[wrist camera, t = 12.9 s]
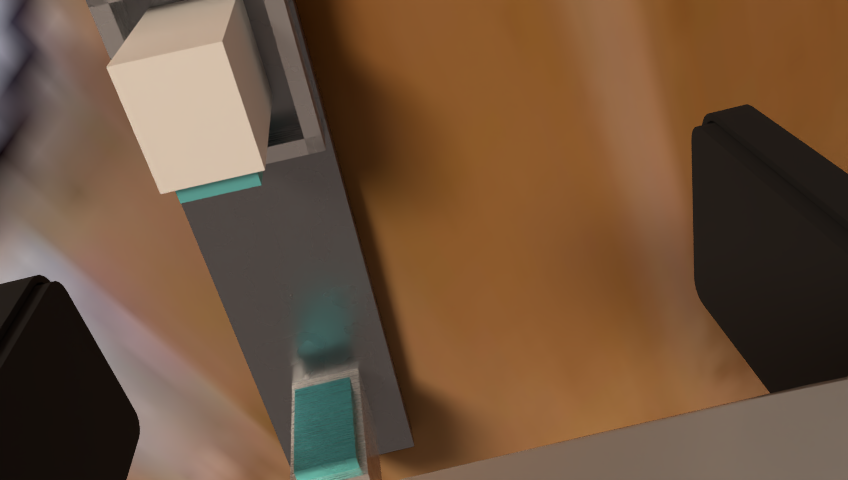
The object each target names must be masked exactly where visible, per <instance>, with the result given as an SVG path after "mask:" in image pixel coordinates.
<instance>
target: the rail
mask: <svg viewBox="0 0 848 480" xmlns="http://www.w3.org/2000/svg"><path fill="white" fill-rule="evenodd" d="M179 1H184V0H86V2H87V5H88V7H89V9H90V12H91V14H92V16H93V19H94V21H95V23H96V26H97V28H98V31H99V33H100V35H101V38H102V40H103V42H104V45H105V47H106V50H107V52H108V54H109V57H110V59H111V60H112V58H113V57H114V56H115V54H116V53H117V51H118V50H119V49H120V47H121V46H122V44H123V43H124V42H125V40H126V39H127V37H128V36H129V35H130V33H131V32H132V30H133V29H134V28H135V26H136V25H137V23H138V22H139V21H140V19H141V18H142V16H143V15H144V14H145V12H146V11H147V9H148V8H152V7H156V6H161V5H165V4H170V3H175V2H179ZM243 2H244V5H245V8H246V11H247V15H248V18H249V21H250V24H251V28H252V31H253V34H254V37H255V41H256V44H257V47H258V50H259V54H260V57H261V60H262V63H263V67H264V70H265V73H266V76H267V80H268V83H269V86H270V89H271V93H272V96H273V97H272V107H271V117H270V127H269V137H268V146H267V156H266V166H265V170H264V171H263V177H262V185H260V186H256V187H251V188H247V189H242V190H238V191H234V192H229V193H225V194H220V195H216V196H212V197H207V198H203V199H198V200H194V201H190V202H185V203H181V204H182V207H183V209H184V211H185V214H186V216H187V219H188V221H189V223H190V226H191V228H192V231H193V233H194V236H195V238H196V240H197V243H198V245H199V248H200V250H201V252H202V255H203V257H204V260H205V262H206V265H207V267H208V269H209V272H210V274H211V277H212V279H213V282H214V284H215V286H216V289H217V291H218V294H219V296H220V298H221V301H222V303H223V306H224V308H225V311H226V313H227V315H228V318H229V320H230V323H231V325H232V327H233V330H234V332H235V335H236V337H237V340H238V342H239V344H240V347H241V349H242V352H243V354H244V356H245V359H246V361H247V364H248V366H249V369H250V371H251V373H252V376H253V378H254V381H255V383H256V385H257V388H258V390H259V393H260V395H261V398H262V400H263V402H264V405H265V407H266V410H267V412H268V414H269V417H270V419H271V422H272V424H273V427H274V429H275V431H276V434H277V436H278V439H279V441H280V443H281V446H282V448H283V451H284V453H285V456H286V458H287V460H288V463H289V465H290V480H382V475H381V466H380V457H379V455H380V454H384V453H388V452H392V451H397V450H401V449H405V448H409V447H413V446H414V442H413V436H412V430H411V426H410V422H409V419H408V415H407V411H406V407H405V404H404V400H403V396H402V393H401V389H400V385H399V382H398V378H397V374H396V371H395V367H394V363H393V359H392V356H391V352H390V348H389V345H388V341H387V337H386V334H385V330H384V326H383V323H382V319H381V315H380V311H379V308H378V304H377V300H376V297H375V293H374V289H373V286H372V282H371V278H370V275H369V271H368V267H367V263H366V260H365V256H364V252H363V249H362V245H361V241H360V238H359V234H358V230H357V227H356V223H355V219H354V215H353V212H352V208H351V204H350V201H349V197H348V193H347V190H346V186H345V182H344V179H343V175H342V171H341V167H340V164H339V160H338V156H337V153H336V149H335V145H334V142H333V138H332V134H331V131H330V127H329V123H328V120H327V116H326V112H325V108H324V105H323V101H322V97H321V94H320V90H319V86H318V83H317V79H316V75H315V72H314V68H313V64H312V60H311V57H310V53H309V49H308V46H307V42H306V38H305V35H304V31H303V27H302V24H301V20H300V16H299V12H298V9H297V5H296V1H295V0H243Z"/></svg>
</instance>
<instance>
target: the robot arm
mask: <svg viewBox="0 0 848 480" xmlns="http://www.w3.org/2000/svg"><path fill="white" fill-rule="evenodd" d="M692 186H693V235H694V279H695V286H696V290H697V293H698V296H699V298H700V300H701V302H702V303H703V305H704V306H705V307H706V309H707V310H708V311H709V313H710V314H711V315H712V317H713V318H714V319H715V321H716V322H717V323H718V325H719V326H720V327H721V329H722V330H723V331H724V333H725V334H726V335H727V336H728V338H729V339H730V340H731V342H732V343H733V344H734V346H735V347H736V348H737V350H738V351H739V352H740V354H741V355H742V356H743V358H744V359H745V360H746V362H747V363H748V364H749V366H750V367H751V368H752V370H753V371H754V372H755V374H756V375H757V376H758V378H759V379H760V380H761V382H762V383H763V384H764V385H765V387H766V388H767V389H768V391H769V392H770V394H766V395H762V396H757V397H753V398H749V399H744V400H740V401H736V402H731V403H727V404H723V405H718V406H714V407H710V408H705V409H701V410H697V411H692V412H688V413H684V414H679V415H675V416H671V417H666V418H662V419H658V420H653V421H649V422H645V423H640V424H636V425H632V426H627V427H623V428H619V429H614V430H610V431H606V432H601V433H597V434H593V435H588V436H584V437H580V438H576V439H571V440H567V441H563V442H558V443H554V444H550V445H546V446H541V447H537V448H533V449H529V450H524V451H520V452H516V453H512V454H507V455H503V456H499V457H494V458H490V459H486V460H482V461H477V462H473V463H469V464H465V465H460V466H456V467H452V468H448V469H443V470H439V471H435V472H431V473H426V474H422V475H418V476H414V477H409V478H405V479H401V480H848V174H847V173H846V172H844V171H843V170H842V169H840V168H839V167H837V166H836V165H835V164H833V163H832V162H830V161H829V160H827V159H826V158H825V157H823V156H822V155H820V154H819V153H818V152H816V151H815V150H813V149H812V148H810V147H809V146H808V145H806V144H805V143H803V142H802V141H801V140H799V139H798V138H796V137H795V136H793V135H792V134H791V133H789V132H788V131H786V130H785V129H783V128H782V127H781V126H779V125H778V124H776V123H775V122H774V121H772V120H771V119H769V118H768V117H766V116H765V115H764V114H762V113H761V112H759V111H758V110H757V109H755V108H754V107H752V106H750V105H748V104H746V105H742V106H738V107H734V108H730V109H726V110H722V111H717V112H713V113H709V114H707V115H706V116H705V117H704V120H703V123H702V126H698V127H695V128H694V129H693V132H692ZM139 434H140V426H139V420H138V416H137V414H136V412H135V410H134V408H133V406H132V405H131V403H130V401H129V399H128V398H127V396H126V394H125V392H124V391H123V389H122V387H121V385H120V383H119V382H118V380H117V378H116V376H115V375H114V373H113V371H112V369H111V368H110V366H109V364H108V362H107V361H106V359H105V357H104V355H103V354H102V352H101V350H100V348H99V347H98V345H97V343H96V341H95V340H94V338H93V336H92V334H91V333H90V331H89V329H88V327H87V326H86V324H85V322H84V320H83V319H82V317H81V315H80V313H79V312H78V310H77V308H76V306H75V305H74V303H73V301H72V299H71V298H70V296H69V294H68V292H67V291H66V289H65V288H64V286H63V285H62V284H61V283H59V282H57V281H54V282H50V281H49V280H48V279H47V278H46V277H45V276H42V275H37V276H32V277H28V278H24V279H20V280H16V281H12V282H7V283H3V284H0V480H126V479H127V476H128V473H129V469H130V466H131V463H132V459H133V456H134V453H135V449H136V446H137V443H138V439H139Z"/></svg>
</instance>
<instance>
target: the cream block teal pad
mask: <svg viewBox="0 0 848 480" xmlns="http://www.w3.org/2000/svg"><path fill="white" fill-rule="evenodd" d="M107 70H108V72H109V74H110V77H111V79H112V81H113V84H114V86H115V88H116V91H117V93H118V95H119V98H120V100H121V102H122V105H123V107H124V109H125V112H126V114H127V117H128V119H129V121H130V124H131V126H132V128H133V131H134V133H135V135H136V138H137V140H138V142H139V145H140V147H141V149H142V152H143V154H144V156H145V159H146V161H147V163H148V166H149V168H150V170H151V173H152V175H153V177H154V180H155V182H156V184H157V187H158V189H159V191H160V194H163V193H167V192H172V191H176V194H177V196H178V199H179V201H180V204H181V203H185V202H190V201H194V200H198V199H203V198H207V197H212V196H216V195H220V194H225V193H229V192H234V191H238V190H242V189H247V188H251V187H256V186H260V185H262V177H263V171H264V170H265V166H266V156H267V146H268V137H269V127H270V117H271V107H272V97H273V96H272V93H271V89H270V86H269V83H268V80H267V76H266V73H265V70H264V67H263V63H262V60H261V57H260V54H259V50H258V47H257V44H256V41H255V37H254V34H253V31H252V28H251V24H250V21H249V18H248V15H247V11H246V8H245V5H244V2H243V0H184V1H179V2H175V3H170V4H165V5H161V6H156V7H152V8H148V9H147V11H146V12H145V14H144V15H143V16H142V18H141V19H140V21H139V22H138V23H137V25H136V26H135V28H134V29H133V30H132V32H131V33H130V35H129V36H128V37H127V39H126V40H125V42H124V43H123V44H122V46H121V47H120V49H119V50H118V51H117V53H116V54H115V56H114V57H113V58H112V60H111V61H110V63H109V64H108V65H107Z"/></svg>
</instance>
